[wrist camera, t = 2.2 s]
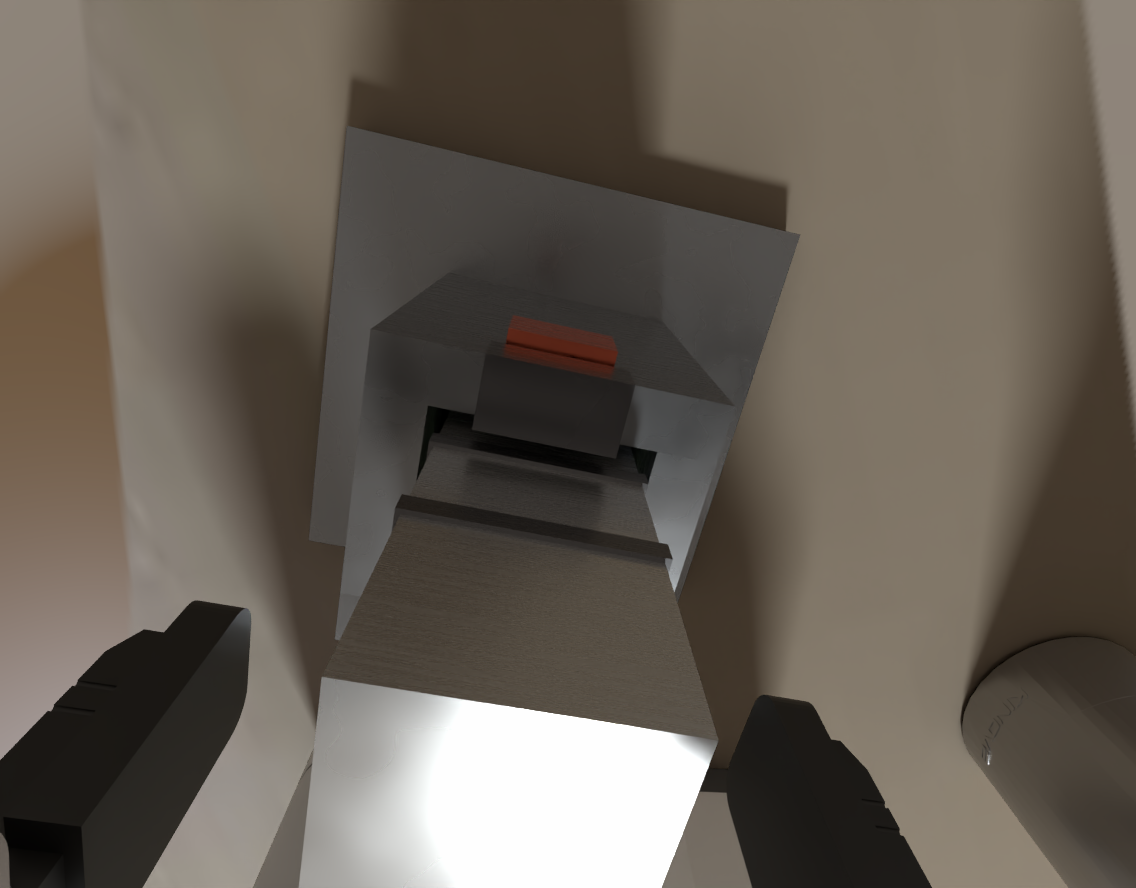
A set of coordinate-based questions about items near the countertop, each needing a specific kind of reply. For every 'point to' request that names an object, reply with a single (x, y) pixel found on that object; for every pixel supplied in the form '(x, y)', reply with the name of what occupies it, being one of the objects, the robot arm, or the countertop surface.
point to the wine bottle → (709, 842)
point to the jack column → (510, 684)
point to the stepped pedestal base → (529, 334)
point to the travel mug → (288, 841)
